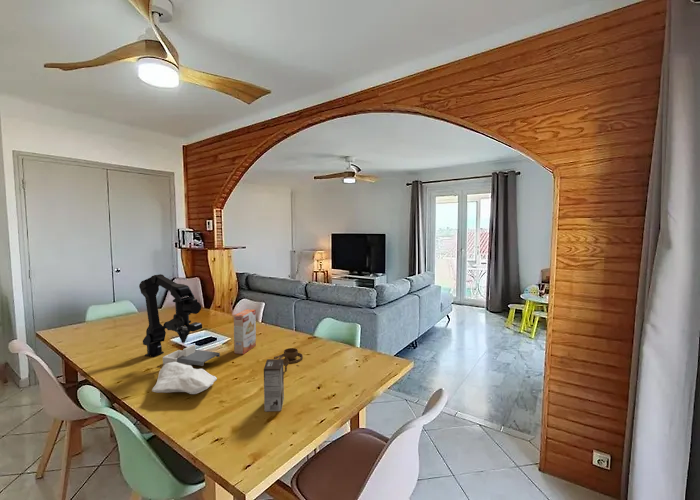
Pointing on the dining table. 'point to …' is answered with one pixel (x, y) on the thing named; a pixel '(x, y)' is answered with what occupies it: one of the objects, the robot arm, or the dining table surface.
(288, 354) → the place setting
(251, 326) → the cracker box
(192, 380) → the crumpled cloth
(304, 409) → the dining table surface
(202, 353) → the lid
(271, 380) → the coffee box
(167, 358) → the tray
